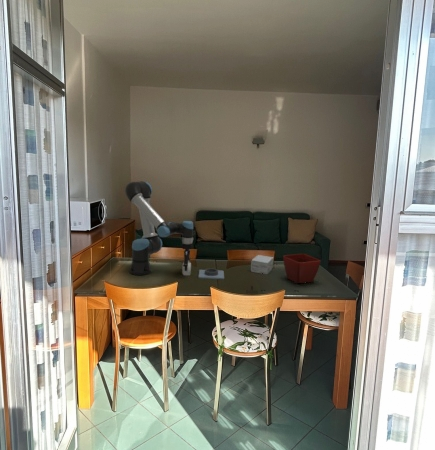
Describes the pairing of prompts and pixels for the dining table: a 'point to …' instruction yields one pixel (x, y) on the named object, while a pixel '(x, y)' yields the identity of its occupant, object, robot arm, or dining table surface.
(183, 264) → the plug cap
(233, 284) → the dining table surface
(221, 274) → the barrel board
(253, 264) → the supplement box
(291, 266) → the plant pot
